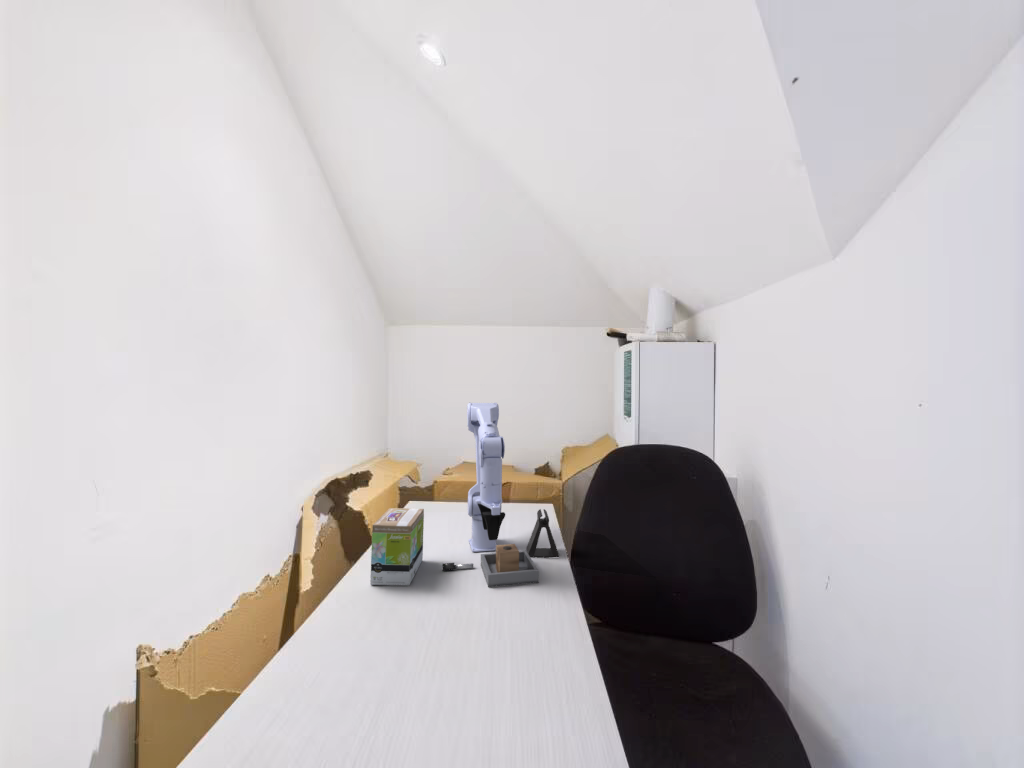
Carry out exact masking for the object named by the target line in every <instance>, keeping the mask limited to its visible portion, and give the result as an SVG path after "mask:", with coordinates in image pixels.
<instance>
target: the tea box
mask: <svg viewBox="0 0 1024 768" xmlns="http://www.w3.org/2000/svg"><path fill="white" fill-rule="evenodd" d="M424 519H425V510H424V508H409V507H407V508H406V507H405V508H401V507H400V508H398V507H395V508H394V507H389V508H388V509H387V510H386V511H385V512H384V513H383V514H382V515H381V516H380V517H379V518H378V519H377V520H376V521H375V522H374V523H373V524H372V529H371V531H372V534H371V552H370V553H371V554H370V555H371V556H370V580H369V581H370V585H373V586H374V585H375V586H410V584H411V582H412V581H413V580H414V576H416V573H417V572H418V570H419V568H420V565H421V564H422V562H423V556H424V553H423V552H424V551H423V550H424V523H425V520H424Z"/></svg>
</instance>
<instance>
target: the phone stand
mask: <svg viewBox="0 0 1024 768" xmlns="http://www.w3.org/2000/svg"><path fill="white" fill-rule="evenodd" d="M536 514H537V515H536V517H537V519H536V521H535V524H534V527H533V530H532V532H531V536H530V537H529V540H528V542H527V545H526V551H527V553H528V555H529V556H530V558H535V557H537V559H538V558H539V559H540V558H544V559H545V558H546V559H547V558H549V557H560V554H559V551H558V548H557V545H556V541H555V539H554V536H553V534H552V530H551V528H550V525H549V524H550V517H549V515H548V512H547V510H546V509H543V512H542V509H541V508H540V509H538V510H537V513H536ZM543 514H544V517H543ZM542 517H543V518H542ZM543 528H545V530H546V535H547V539H548V542H549V546H550V547H537V546H538V544H539V543H538V542H539V538H540V536H541V531H542V529H543ZM535 559H536V558H535ZM549 559H550V558H549Z"/></svg>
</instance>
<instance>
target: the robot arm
mask: <svg viewBox="0 0 1024 768" xmlns="http://www.w3.org/2000/svg"><path fill="white" fill-rule="evenodd" d="M466 410H467V411H466V418H467V419H466V420H467V421H466V423H467V426H466V427H467V429H468V431H469V432H471V433H473V436H474V439H475V467H476V469H475V471H476V473H475V474H476V483H475V484H474V485H473V486H472V487H471V488H470V489H469V490H468V492H467V515H468V516H469V517H471V538H468V543H469V547H470V550H471V552H472V553H480V552H490V551H491V552H492V551H493V552H494V551H496V545H498V543H497V542H496V541H497V540H498V538H499V534H500V530H501V527H502V523H503V521H504V519H505V518H506V513H505V512H504V511H502V504H503V498H502V495H503V494H502V491H503V490H502V488H503V459H504V457H505V453H506V452H505V451H506V450H505V449H506V445H505V439H504V437H503V436H501V435H500V433H499V428H498V422H499V416H500V408H499V404H498V402H468V403H467V405H466Z"/></svg>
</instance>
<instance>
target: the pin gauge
mask: <svg viewBox="0 0 1024 768" xmlns="http://www.w3.org/2000/svg"><path fill="white" fill-rule="evenodd" d="M467 569H474V563H461V564H455V562H446V563H445V562H444V563H442V572H443V571H444V572H445V571H446V572H447V571H457V570H467Z"/></svg>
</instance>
